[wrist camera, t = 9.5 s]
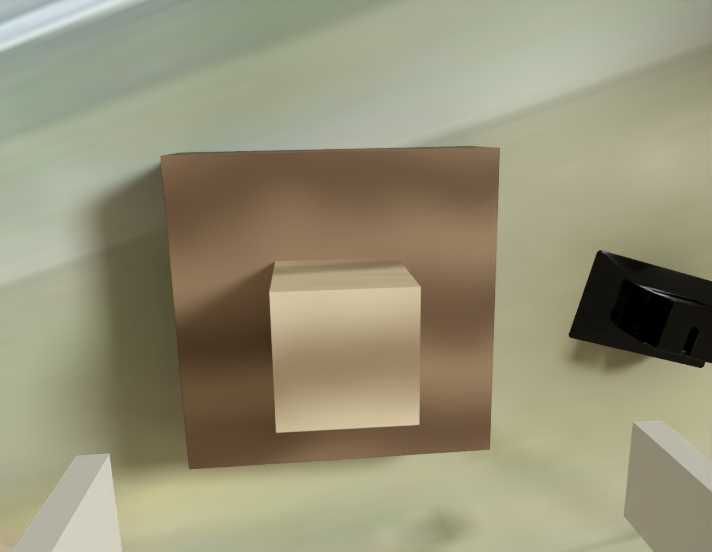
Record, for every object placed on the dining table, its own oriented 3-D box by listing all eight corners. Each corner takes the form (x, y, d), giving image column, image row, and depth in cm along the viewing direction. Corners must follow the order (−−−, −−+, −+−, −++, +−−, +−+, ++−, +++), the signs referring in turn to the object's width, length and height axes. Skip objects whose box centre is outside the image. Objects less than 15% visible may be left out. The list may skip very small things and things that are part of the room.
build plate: (539, 339, 38) (571, 367, 33) (578, 227, 36) (617, 240, 32) (713, 382, 40) (766, 413, 35) (758, 276, 38) (818, 295, 34)
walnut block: (180, 152, 33) (160, 155, 28) (471, 146, 34) (499, 148, 29) (203, 424, 37) (189, 469, 32) (465, 409, 38) (489, 449, 33)
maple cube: (275, 261, 30) (269, 292, 24) (397, 257, 30) (420, 286, 24) (280, 376, 31) (276, 432, 25) (396, 371, 32) (419, 424, 26)
